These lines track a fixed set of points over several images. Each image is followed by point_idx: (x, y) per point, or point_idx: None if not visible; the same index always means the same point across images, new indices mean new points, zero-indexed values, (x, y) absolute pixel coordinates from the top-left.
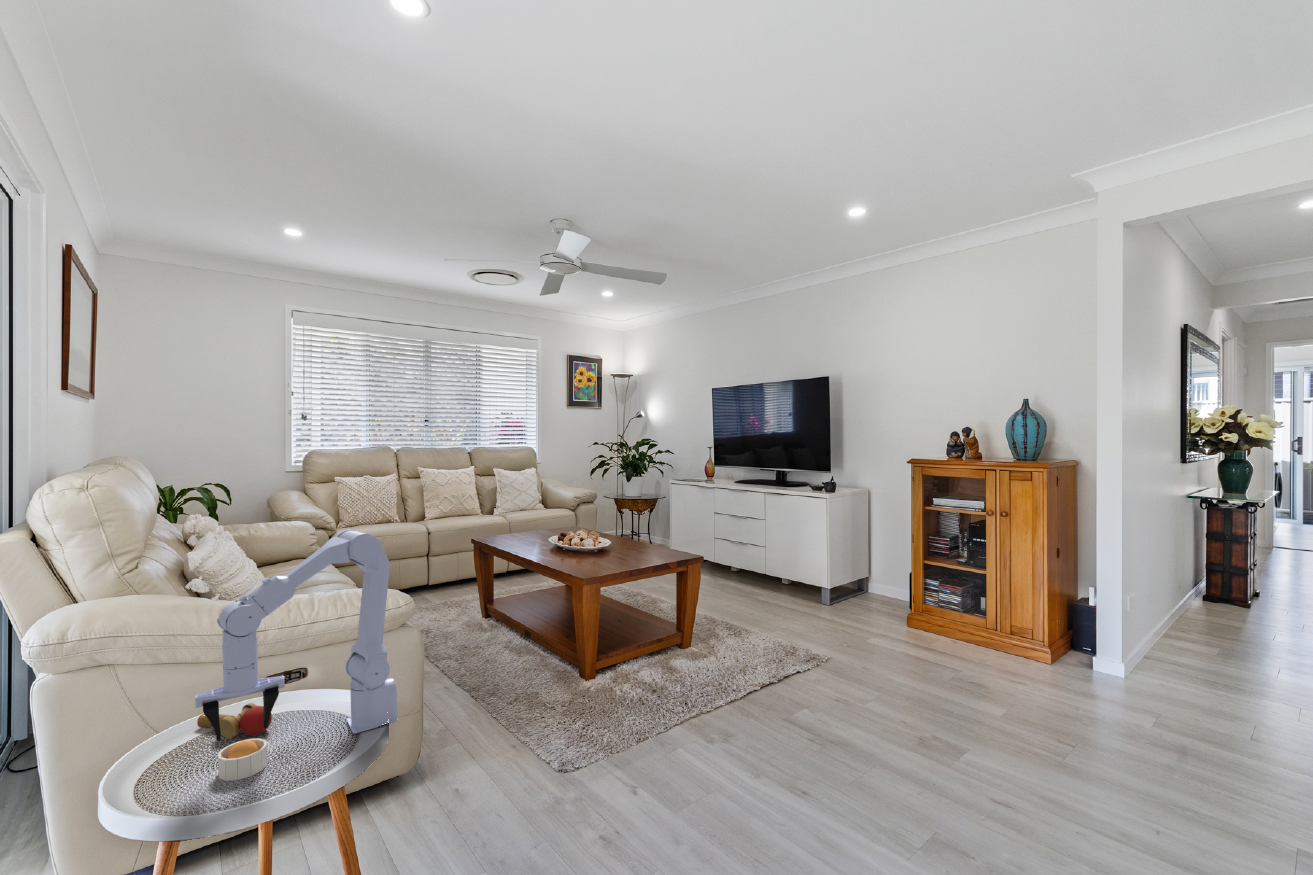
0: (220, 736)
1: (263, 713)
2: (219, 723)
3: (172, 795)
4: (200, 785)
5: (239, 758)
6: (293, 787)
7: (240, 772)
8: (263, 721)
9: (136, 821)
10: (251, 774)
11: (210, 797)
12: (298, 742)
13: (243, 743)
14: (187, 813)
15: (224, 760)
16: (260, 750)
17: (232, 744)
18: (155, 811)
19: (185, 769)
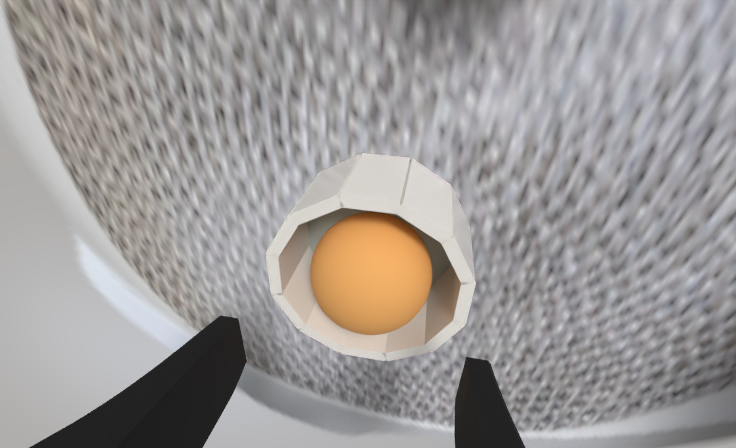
0: (235, 383)
1: (474, 437)
2: (187, 408)
3: (183, 245)
4: (251, 244)
5: (347, 350)
6: None
7: None
8: (461, 415)
9: (136, 308)
10: None
11: (287, 327)
12: (652, 156)
13: (361, 325)
14: None
15: (296, 323)
16: (427, 350)
17: (324, 206)
18: (165, 296)
19: (171, 64)
